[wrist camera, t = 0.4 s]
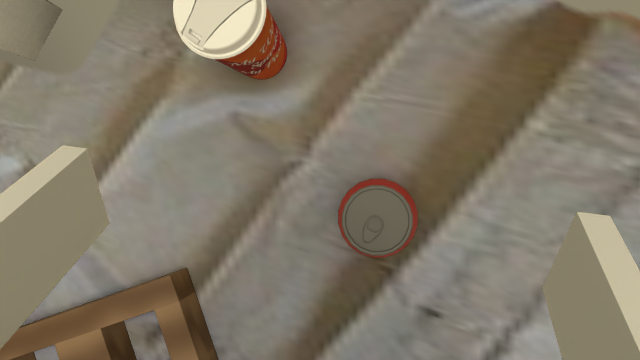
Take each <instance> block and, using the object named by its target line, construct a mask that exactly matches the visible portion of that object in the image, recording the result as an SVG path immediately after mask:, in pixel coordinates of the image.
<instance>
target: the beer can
mask: <svg viewBox="0 0 640 360" xmlns="http://www.w3.org/2000/svg"><path fill="white" fill-rule="evenodd" d="M417 217H418V212H417V209H416V206H415V203H414V200H413V199H412V198H411V196H410V195H409V193H408V192H407V191H406V190H405V189H404V188H402V187H401V186H400V185H398V184H397V183H395V182H392V181H389V180H386V179H369V180H366V181H363V182H360V183H358V184H357V185H355V186H354V187H353V188H351V189H350V190H349V191H348V192H347V194H346V195H345V196H344V198H343V199H342V202H341V205H340V208H339V211H338V224H339V228H340V231H341V234H342V236H343V237H344V239H345V240H346V242H347V243H348V245H349V246H350V247H352V248H353V249H354V250H356V251H357V252H358V253H360V254H363V255H366V256H369V257H382V258H384V257H387V256H390V255H394V254H396V253H398V252H399V251H401V250H402V249H404V248H405V247H406V246H407V245H408V243H409V242H410V241H411V239H412V238H413V237H414V234H415V231H416V228H417Z"/></svg>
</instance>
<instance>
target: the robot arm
mask: <svg viewBox="0 0 640 360" xmlns="http://www.w3.org/2000/svg"><path fill="white" fill-rule="evenodd" d="M109 224H110V222H109V219H108V216H107V213H106V209H105V206H104V203H103V199H102V196H101V193H100V189H99V186H98V183H97V179H96V176H95V173H94V170H93V166H92V163H91V160H90V156H89V153H88V150H87V149H86V148H78V147H70V146H63V145H62V146H61V147H60V148H59V149H57V150H56V151H55V152H54V153H52V154H51V155H50V156H48V157H47V158H46V159H45V160H43V161H42V162H41V163H40V164H38V165H37V166H36V167H34V168H33V169H32V170H31V171H29V172H28V173H27V174H26V175H24V176H23V177H22V178H20V179H19V180H18V181H17V182H15V183H14V184H13V185H11V186H10V187H9V188H8V189H6V190H5V191H4V192H3V193H1V194H0V349H1V348H2V347H3V346H4V345H5V344H6V342H7V341H8V340H9V339H10V338H11V337H12V335H13V334H14V333H15V332H16V331H17V330H18V329H19V327H20V326H21V325H22V324H23V323H24V322H25V320H26V319H27V318H28V317H29V316H30V315H31V314H32V312H33V311H34V310H35V309H36V308H37V307H38V305H39V304H40V303H41V302H42V301H43V300H44V299H45V297H46V296H47V295H48V294H49V293H50V292H51V290H52V289H53V288H54V287H55V286H56V285H57V284H58V282H59V281H60V280H61V279H62V278H63V277H64V275H65V274H66V273H67V272H68V271H69V270H70V269H71V267H72V266H73V265H74V264H75V263H76V262H77V260H78V259H79V258H80V257H81V256H82V255H83V254H84V252H85V251H86V250H87V249H88V248H89V247H90V245H91V244H92V243H93V242H94V241H95V240H96V239H97V237H98V236H99V235H100V234H101V233H102V232H103V230H104V229H105V228H106V227H107V226H108V225H109ZM542 289H543V293H544V296H545V300H546V303H547V307H548V310H549V314H550V317H551V321H552V324H553V328H554V331H555V335H556V338H557V342H558V345H559V349H560V352H561V356H562V359H563V360H640V271H639V269H638V267H637V265H636V263H635V261H634V260H633V258H632V256H631V254H630V252H629V250H628V248H627V247H626V245H625V243H624V241H623V239H622V237H621V235H620V234H619V232H618V230H617V228H616V226H615V224H614V223H613V221H612V219H611V217H610V216H605V215H598V214H590V213H582V212H577V213H576V215H575V217H574V219H573V222H572V224H571V226H570V228H569V230H568V233H567V235H566V237H565V239H564V241H563V244H562V246H561V248H560V250H559V253H558V255H557V257H556V259H555V261H554V264H553V266H552V268H551V270H550V272H549V275H548V277H547V279H546V281H545V284H544V286H543V288H542Z"/></svg>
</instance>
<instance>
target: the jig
mask: <svg viewBox="0 0 640 360" xmlns="http://www.w3.org/2000/svg"><path fill="white" fill-rule="evenodd" d="M153 310H155V313H156V316H157V319H158V322H159V325H160V328H161V331H162V333H163V336H164V339H165V342H166V345H167V348H168V351H169V354H170V357H171V360H218V357H217V354H216V351H215V349H214V346H213V343H212V340H211V337H210V334H209V331H208V328H207V325H206V322H205V319H204V316H203V313H202V310H201V307H200V305H199V302H198V299H197V296H196V293H195V290H194V287H193V284H192V281H191V278H190V275H189V272H188V269H187V268H185V269H182V270H179V271H176V272H174V273H171V274H168V275H165V276H162V277H159V278H157V279H154V280H151V281H148V282H145V283H142V284H140V285H137V286H134V287H131V288H128V289H125V290H123V291H120V292H117V293H114V294H111V295H108V296H106V297H103V298H100V299H97V300H94V301H91V302H89V303H86V304H83V305H80V306H77V307H74V308H72V309H69V310H66V311H63V312H60V313H57V314H55V315H52V316H49V317H46V318H43V319H40V320H38V321H35V322H32V323H29V324H26V325H24V326H21V327H19V329H18V330H17V331H16V332H15V333H14V334H13V335H12V337H11V338H10V339H9V340H8V341H7V342H6V344H5V345H4V346H3V347H2V348H1V349H0V360H36V358H35V355H34V352H33V351H36V350H39V349H42V348H45V347H48V346H51V345H54V344H55V347H56V350H57V354H58V357H59V360H136V357H135V354H134V351H133V348H132V345H131V342H130V339H129V336H128V333H127V330H126V327H125V324H124V320H127V319H130V318H132V317H135V316H138V315H141V314H144V313H147V312H150V311H153Z"/></svg>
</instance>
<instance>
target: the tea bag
mask: <svg viewBox="0 0 640 360" xmlns="http://www.w3.org/2000/svg"><path fill="white" fill-rule="evenodd" d="M61 12H62V9H61V8H59V7H57V6H55V5H54V4H53V3H51V2H49V1H48V0H0V49H1V50H4V51H7V52H10V53H13V54H16V55H19V56H22V57H25V58H28V59H31V60H34V61H35V59H36V58H37V56H38V54H39V52H40V50H41V49H42V47H43V45H44V43H45V41H46V39H47V37H48V36H49V34H50V32H51V30H52V28H53V27H54V25H55V23H56V21H57V19H58V17H59V16H60V14H61Z"/></svg>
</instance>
